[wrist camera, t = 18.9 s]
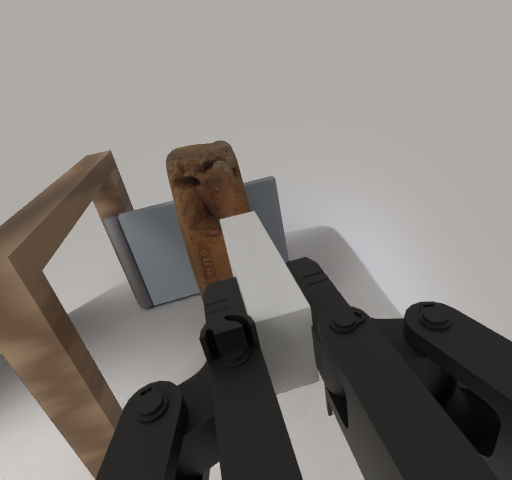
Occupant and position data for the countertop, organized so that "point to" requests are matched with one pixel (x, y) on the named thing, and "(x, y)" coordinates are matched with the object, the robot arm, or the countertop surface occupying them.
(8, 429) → the countertop surface
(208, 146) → the brown elongated rounded part
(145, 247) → the door
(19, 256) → the door frame
